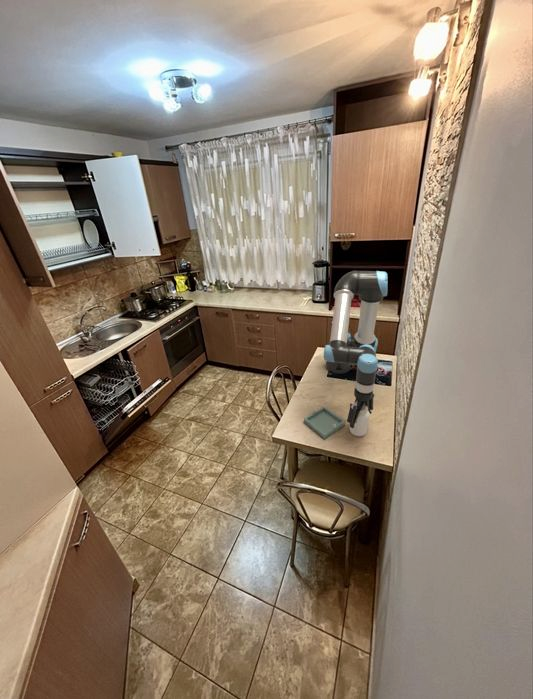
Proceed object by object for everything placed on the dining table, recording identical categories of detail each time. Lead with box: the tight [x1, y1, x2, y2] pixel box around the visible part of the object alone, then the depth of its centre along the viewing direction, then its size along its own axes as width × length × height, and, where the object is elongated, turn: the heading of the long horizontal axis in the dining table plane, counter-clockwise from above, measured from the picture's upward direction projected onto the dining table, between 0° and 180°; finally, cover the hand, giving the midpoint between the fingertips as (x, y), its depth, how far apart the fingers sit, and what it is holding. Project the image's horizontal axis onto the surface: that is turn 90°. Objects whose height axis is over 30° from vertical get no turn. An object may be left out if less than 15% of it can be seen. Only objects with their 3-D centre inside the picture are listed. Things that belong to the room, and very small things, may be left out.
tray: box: [303, 405, 347, 440], centre depth 134 cm, size 14×14×4 cm
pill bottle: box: [348, 405, 371, 437], centre depth 127 cm, size 8×8×15 cm
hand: (358, 427), depth 129 cm, fingers closed on pill bottle, 8 cm apart
